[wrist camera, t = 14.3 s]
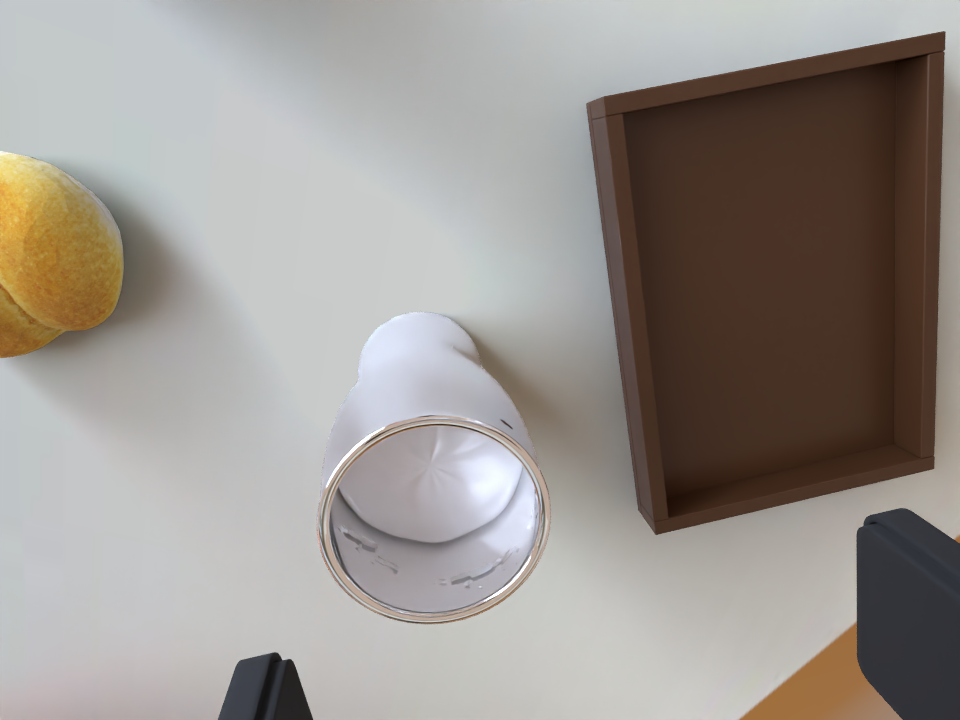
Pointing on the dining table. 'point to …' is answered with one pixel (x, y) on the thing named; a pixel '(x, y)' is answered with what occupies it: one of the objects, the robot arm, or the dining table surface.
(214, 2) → the dining table surface
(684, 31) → the dining table surface
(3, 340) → the bread roll
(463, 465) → the beer glass
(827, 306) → the tray
